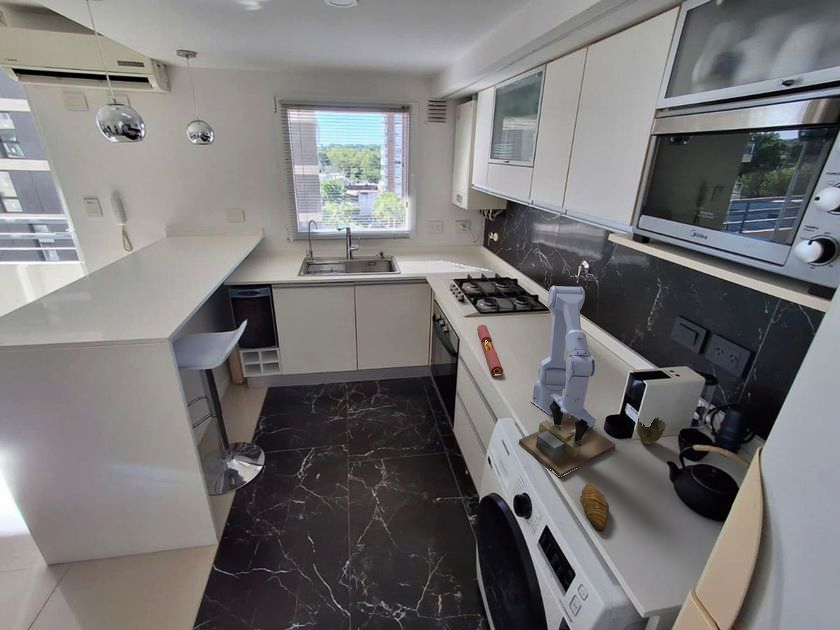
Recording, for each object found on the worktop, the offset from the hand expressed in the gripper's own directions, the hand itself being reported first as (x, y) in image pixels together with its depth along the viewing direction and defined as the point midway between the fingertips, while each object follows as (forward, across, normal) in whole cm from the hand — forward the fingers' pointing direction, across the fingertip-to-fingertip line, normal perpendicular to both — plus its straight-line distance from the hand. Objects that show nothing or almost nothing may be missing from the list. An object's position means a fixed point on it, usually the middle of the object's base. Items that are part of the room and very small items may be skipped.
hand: (567, 432), depth 116 cm
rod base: (+5, 0, +1) cm, 5 cm away
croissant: (+6, +19, -12) cm, 23 cm away
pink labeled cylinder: (+6, -60, +19) cm, 63 cm away
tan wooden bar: (+3, 0, -3) cm, 5 cm away
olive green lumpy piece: (+6, +11, +24) cm, 27 cm away
